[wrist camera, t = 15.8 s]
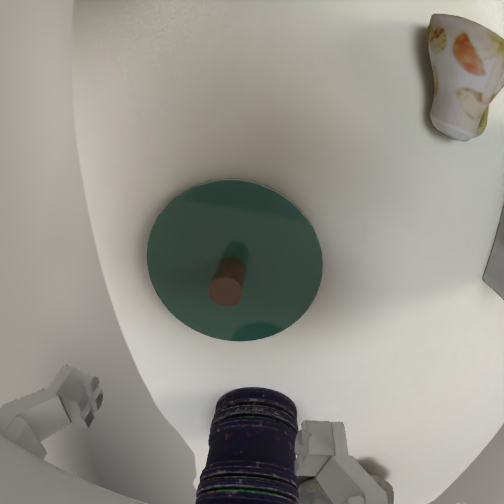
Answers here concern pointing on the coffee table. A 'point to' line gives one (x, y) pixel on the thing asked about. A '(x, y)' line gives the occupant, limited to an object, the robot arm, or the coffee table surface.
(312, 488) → the vessel
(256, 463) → the storage jar
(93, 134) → the coffee table surface
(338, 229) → the coffee table surface
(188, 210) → the pot lid
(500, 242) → the planter
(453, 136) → the painted ceramic vase
